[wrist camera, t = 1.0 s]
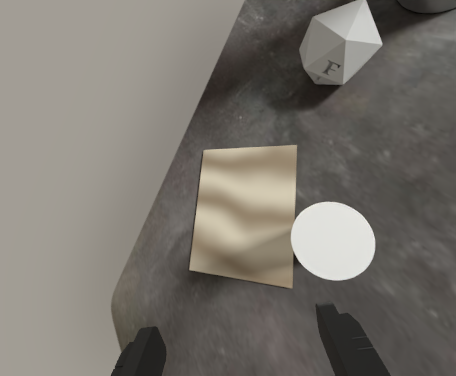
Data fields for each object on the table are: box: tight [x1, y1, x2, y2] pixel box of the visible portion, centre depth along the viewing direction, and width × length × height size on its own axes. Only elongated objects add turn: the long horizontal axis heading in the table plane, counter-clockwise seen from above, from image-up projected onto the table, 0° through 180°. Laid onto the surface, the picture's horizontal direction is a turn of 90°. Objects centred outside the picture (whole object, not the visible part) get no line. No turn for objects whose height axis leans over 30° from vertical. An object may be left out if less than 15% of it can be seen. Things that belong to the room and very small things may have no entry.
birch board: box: [189, 145, 297, 288], centre depth 30 cm, size 18×14×1 cm
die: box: [299, 0, 383, 85], centre depth 26 cm, size 8×9×10 cm
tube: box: [291, 202, 375, 280], centre depth 19 cm, size 4×4×15 cm
